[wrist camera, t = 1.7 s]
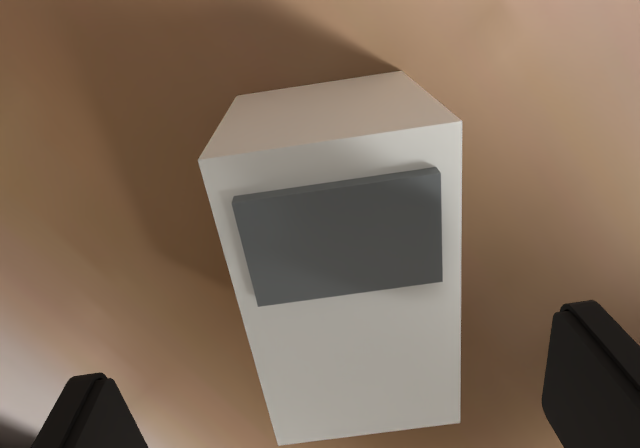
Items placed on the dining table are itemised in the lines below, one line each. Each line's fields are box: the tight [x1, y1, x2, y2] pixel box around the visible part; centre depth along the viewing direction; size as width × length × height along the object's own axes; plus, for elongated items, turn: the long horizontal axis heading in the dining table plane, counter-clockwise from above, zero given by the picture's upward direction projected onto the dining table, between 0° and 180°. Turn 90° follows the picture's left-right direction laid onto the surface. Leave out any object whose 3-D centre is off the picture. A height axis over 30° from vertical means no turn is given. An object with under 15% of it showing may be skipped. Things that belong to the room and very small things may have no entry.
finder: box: [198, 71, 462, 446], centre depth 15 cm, size 10×6×7 cm, turn 8°
